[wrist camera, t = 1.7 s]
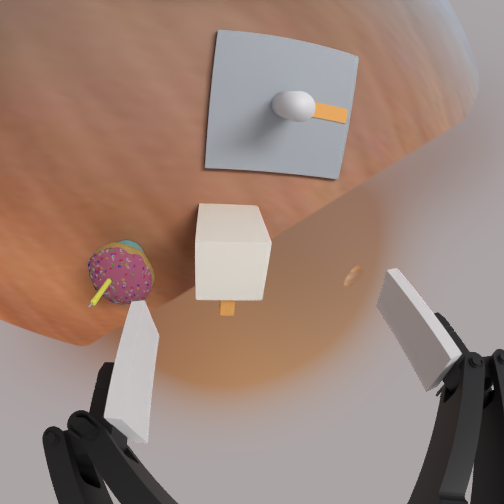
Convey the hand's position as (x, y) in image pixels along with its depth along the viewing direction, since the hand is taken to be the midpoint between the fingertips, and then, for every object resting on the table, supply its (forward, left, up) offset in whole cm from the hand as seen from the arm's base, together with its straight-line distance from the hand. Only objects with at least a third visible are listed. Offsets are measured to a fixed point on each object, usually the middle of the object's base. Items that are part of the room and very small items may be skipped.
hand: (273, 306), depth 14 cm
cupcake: (-14, -10, -21) cm, 27 cm away
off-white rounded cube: (-1, -8, -20) cm, 22 cm away
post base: (+4, +10, -20) cm, 23 cm away
